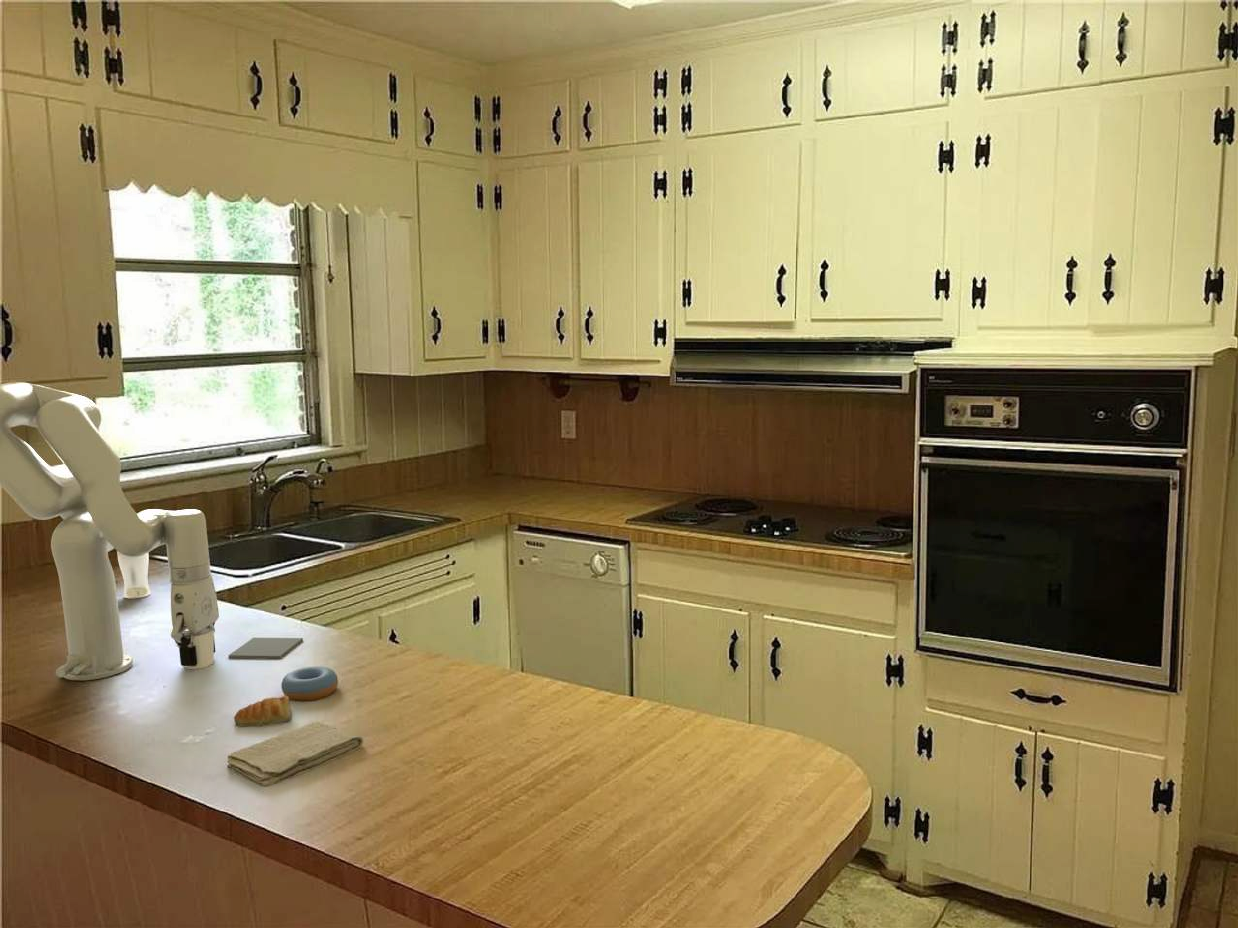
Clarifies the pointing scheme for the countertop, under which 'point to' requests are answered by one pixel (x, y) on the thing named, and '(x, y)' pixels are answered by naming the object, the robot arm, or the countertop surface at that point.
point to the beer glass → (134, 575)
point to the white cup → (203, 647)
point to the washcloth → (292, 753)
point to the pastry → (265, 712)
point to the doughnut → (309, 683)
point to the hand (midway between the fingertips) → (198, 658)
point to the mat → (266, 648)
